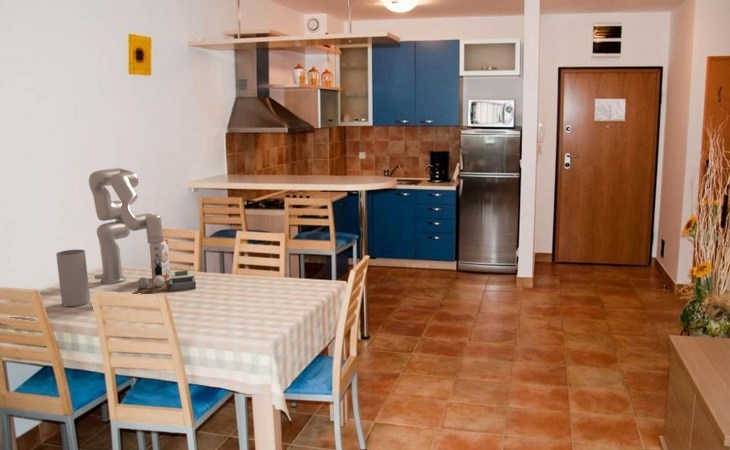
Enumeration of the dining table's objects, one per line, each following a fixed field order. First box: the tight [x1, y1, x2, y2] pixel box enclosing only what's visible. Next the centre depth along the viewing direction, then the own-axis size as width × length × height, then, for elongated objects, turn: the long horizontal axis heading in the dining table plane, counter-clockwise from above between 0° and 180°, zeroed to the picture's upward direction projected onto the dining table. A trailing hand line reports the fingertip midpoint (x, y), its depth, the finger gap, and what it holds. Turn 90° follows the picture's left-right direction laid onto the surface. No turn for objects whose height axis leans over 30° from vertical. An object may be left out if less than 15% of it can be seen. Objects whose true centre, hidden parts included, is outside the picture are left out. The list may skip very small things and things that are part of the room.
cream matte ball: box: [152, 276, 166, 287], centre depth 347 cm, size 6×6×6 cm
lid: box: [168, 270, 195, 279], centre depth 360 cm, size 12×12×3 cm
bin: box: [168, 276, 197, 292], centre depth 357 cm, size 12×25×4 cm, turn 17°
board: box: [136, 283, 168, 295], centre depth 347 cm, size 14×10×2 cm
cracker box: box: [149, 238, 171, 282], centre depth 367 cm, size 14×6×21 cm, turn 179°
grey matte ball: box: [137, 277, 150, 289], centre depth 345 cm, size 6×6×6 cm
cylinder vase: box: [55, 249, 91, 307], centre depth 326 cm, size 12×12×25 cm
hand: (158, 272), depth 346 cm, fingers open, 9 cm apart
